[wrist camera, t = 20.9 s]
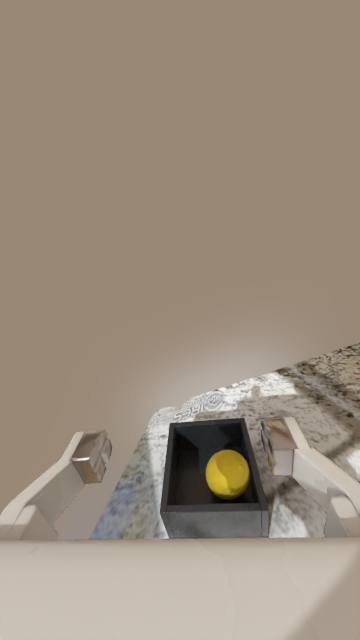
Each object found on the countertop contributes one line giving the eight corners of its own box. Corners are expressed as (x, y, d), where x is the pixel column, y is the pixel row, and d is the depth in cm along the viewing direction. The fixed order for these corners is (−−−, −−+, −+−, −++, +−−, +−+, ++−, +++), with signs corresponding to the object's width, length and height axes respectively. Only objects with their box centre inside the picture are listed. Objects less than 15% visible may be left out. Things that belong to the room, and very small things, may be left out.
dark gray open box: (170, 541, 28) (159, 513, 26) (176, 449, 40) (169, 423, 37) (268, 540, 27) (268, 510, 24) (245, 445, 38) (244, 417, 36)
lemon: (213, 514, 29) (243, 503, 25) (190, 472, 32) (213, 454, 27) (237, 489, 33) (268, 474, 28) (215, 453, 36) (240, 434, 31)
